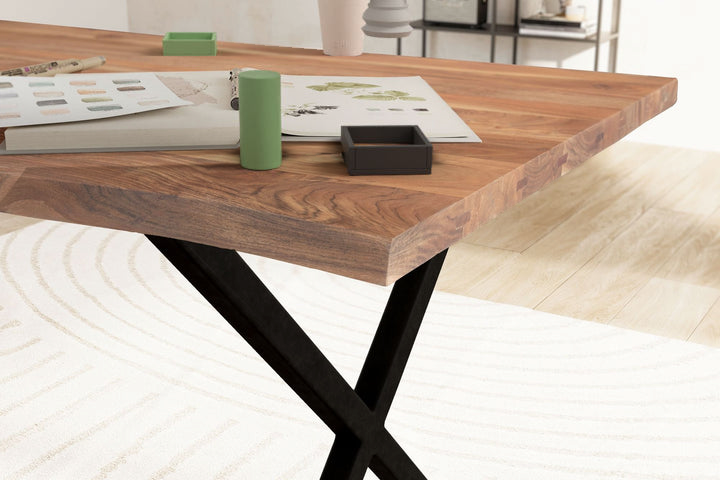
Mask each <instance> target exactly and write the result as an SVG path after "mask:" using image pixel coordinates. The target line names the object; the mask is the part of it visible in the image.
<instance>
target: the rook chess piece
mask: <svg viewBox="0 0 720 480" xmlns="http://www.w3.org/2000/svg"><path fill="white" fill-rule="evenodd" d="M367 5H368V8H367V9H366V10H365V12H364V13H363V16H362V18H363V20H364V21H365V22H366V24H365V25H364V26H363V27H362V28H361V29H362V31H363V32H364V34H365V35H364V36H366V37H371V38H378V39H379V38H380V39H401V38H407V37H409V36H410V35H411V33H412V32H413V31H414V28H413V27H412V26H411V25H410V23H411V22H412V21H413V20H414V17H413V12H411V11H410V9H409V8H408V7H409V3H407V0H369V3H368V4H367Z"/></svg>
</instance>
